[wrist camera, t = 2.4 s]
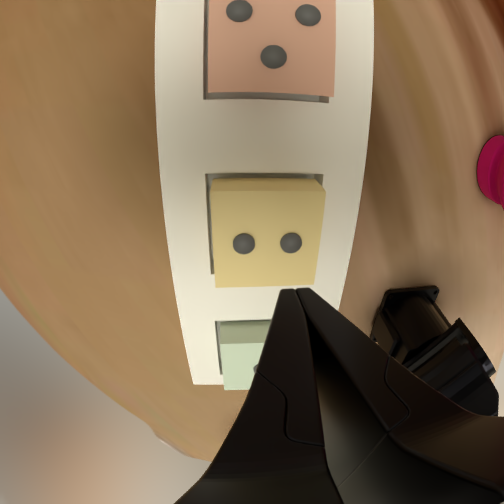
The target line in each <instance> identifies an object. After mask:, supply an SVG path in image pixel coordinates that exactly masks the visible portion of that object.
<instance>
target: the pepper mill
mask: <svg viewBox="0 0 504 504" xmlns="http://www.w3.org/2000/svg"><path fill="white" fill-rule="evenodd" d="M477 178H478V183H479V187H480V189H481V191H482V193H483V194H484V195H485V196H486V197H488V198H489V199H491V200H492V201H494V202H495V203H497V204H500V205H502V207H503V209H504V136H501V135H498V136H494V137H492V138H491V139H490V140H489V141H487V143H486V144H485V146H484V147H483V149H482V151H481V154H480V156H479V160H478V166H477Z"/></svg>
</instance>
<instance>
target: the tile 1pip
mask: <svg viewBox="0 0 504 504" xmlns="http://www.w3.org/2000/svg"><path fill="white" fill-rule="evenodd" d="M270 323H271V320H266V321H237V322H220V351H221V361H222V372H223V382H224V390H246V389H250V386H251V383H252V380H253V377H254V374H255V372H256V368H257V365H258V362H259V359H260V355H261V352H262V349H263V346H264V342H265V339H266V336H267V333H268V329H269V326H270Z"/></svg>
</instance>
